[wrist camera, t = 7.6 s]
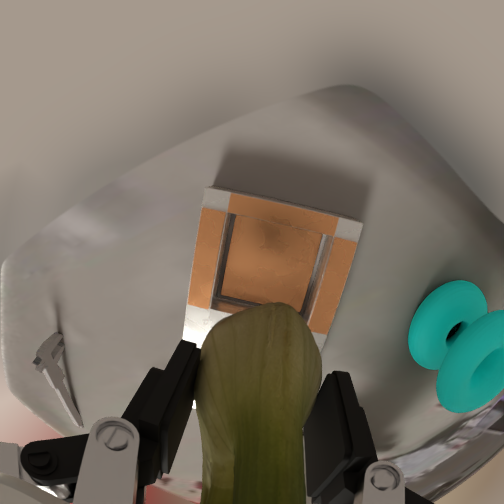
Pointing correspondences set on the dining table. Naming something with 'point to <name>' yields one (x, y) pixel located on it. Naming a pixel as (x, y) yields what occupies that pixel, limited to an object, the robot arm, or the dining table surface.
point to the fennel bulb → (256, 405)
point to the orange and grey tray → (267, 260)
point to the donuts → (460, 345)
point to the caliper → (56, 372)
